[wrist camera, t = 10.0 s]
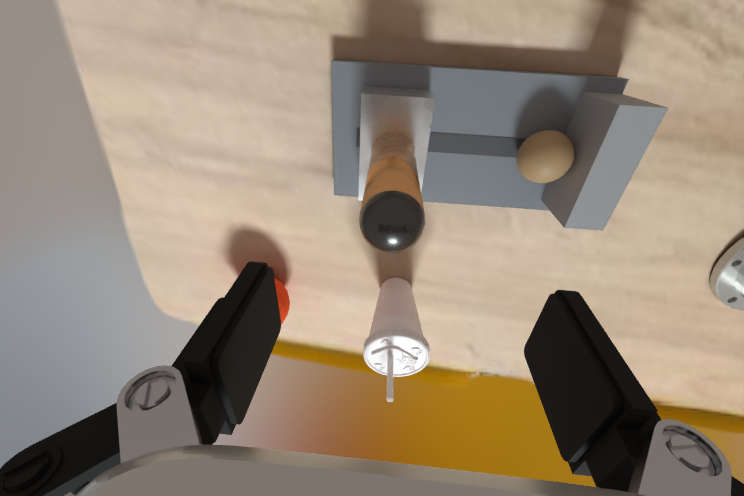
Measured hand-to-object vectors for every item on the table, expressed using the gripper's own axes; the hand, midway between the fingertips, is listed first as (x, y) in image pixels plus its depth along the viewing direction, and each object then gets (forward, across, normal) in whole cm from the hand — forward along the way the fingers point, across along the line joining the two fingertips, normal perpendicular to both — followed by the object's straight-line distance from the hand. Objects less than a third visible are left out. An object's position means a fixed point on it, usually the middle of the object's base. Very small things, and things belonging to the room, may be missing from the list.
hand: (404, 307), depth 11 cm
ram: (+19, +1, 0) cm, 19 cm away
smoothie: (+21, -1, +18) cm, 28 cm away
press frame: (+21, -5, 0) cm, 22 cm away
